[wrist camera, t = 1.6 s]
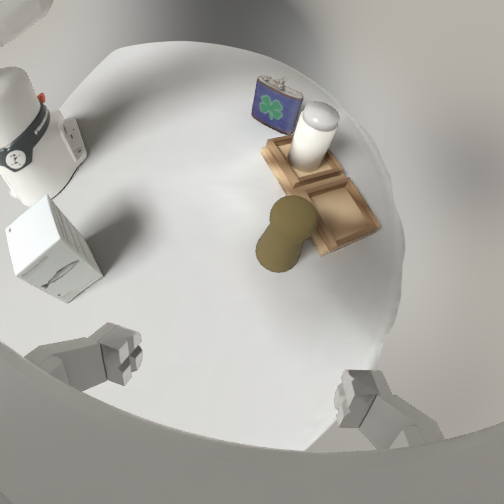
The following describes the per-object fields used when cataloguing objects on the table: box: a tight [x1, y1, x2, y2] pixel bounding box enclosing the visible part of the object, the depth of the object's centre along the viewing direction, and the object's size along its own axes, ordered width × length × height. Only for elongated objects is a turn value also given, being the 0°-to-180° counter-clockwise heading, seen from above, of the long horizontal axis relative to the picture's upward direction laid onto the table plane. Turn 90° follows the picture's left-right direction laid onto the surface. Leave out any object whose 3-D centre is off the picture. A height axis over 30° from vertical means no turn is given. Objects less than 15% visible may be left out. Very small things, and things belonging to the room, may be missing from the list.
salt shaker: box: [287, 101, 340, 173], centre depth 38 cm, size 6×6×11 cm
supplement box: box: [5, 194, 103, 303], centre depth 27 cm, size 7×7×13 cm
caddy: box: [261, 134, 381, 256], centre depth 41 cm, size 20×11×3 cm, turn 24°
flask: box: [251, 76, 303, 135], centre depth 43 cm, size 9×3×11 cm, turn 52°
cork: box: [256, 195, 318, 273], centre depth 32 cm, size 6×6×11 cm
